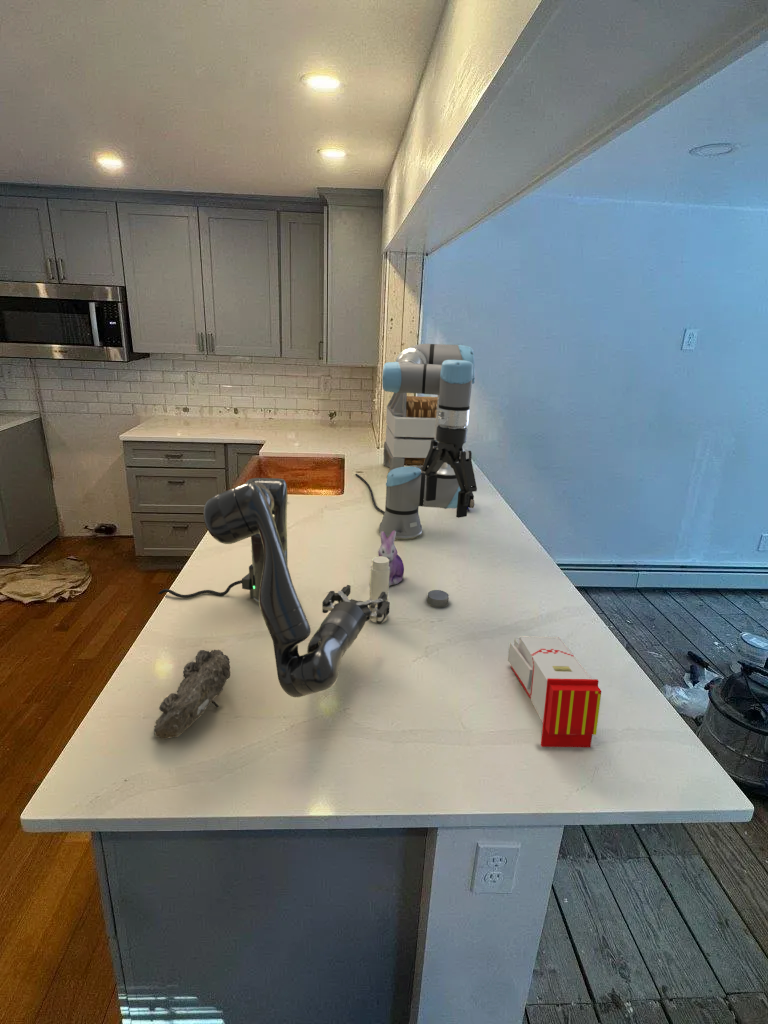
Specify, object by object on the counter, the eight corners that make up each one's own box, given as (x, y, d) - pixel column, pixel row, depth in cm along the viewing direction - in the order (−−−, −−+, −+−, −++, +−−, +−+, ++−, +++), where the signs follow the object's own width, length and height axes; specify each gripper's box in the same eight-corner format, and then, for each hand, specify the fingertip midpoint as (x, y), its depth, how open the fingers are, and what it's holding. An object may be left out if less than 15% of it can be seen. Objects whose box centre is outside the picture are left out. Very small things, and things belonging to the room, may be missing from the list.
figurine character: (474, 517, 223) (468, 500, 237) (476, 499, 220) (470, 484, 233) (457, 516, 223) (452, 500, 236) (459, 499, 220) (454, 483, 233)
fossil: (181, 651, 120) (231, 619, 115) (213, 681, 123) (262, 651, 118) (130, 732, 101) (187, 698, 96) (169, 765, 103) (226, 734, 99)
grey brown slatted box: (382, 463, 289) (386, 382, 275) (445, 464, 293) (451, 384, 279) (390, 482, 257) (394, 392, 243) (460, 483, 261) (468, 394, 247)
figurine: (383, 590, 159) (385, 540, 154) (367, 575, 168) (368, 528, 163) (412, 584, 163) (415, 536, 158) (395, 569, 172) (397, 523, 167)
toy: (555, 619, 129) (611, 687, 100) (550, 674, 132) (602, 754, 102) (502, 618, 128) (542, 685, 99) (498, 673, 131) (536, 754, 102)
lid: (427, 596, 157) (428, 588, 156) (448, 598, 156) (449, 591, 156) (425, 606, 152) (426, 598, 151) (447, 608, 151) (448, 600, 150)
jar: (389, 621, 144) (392, 562, 138) (371, 623, 142) (373, 564, 137) (384, 612, 148) (387, 554, 142) (366, 614, 147) (368, 556, 141)
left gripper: (374, 618, 114) (396, 582, 128) (309, 605, 117) (337, 572, 132) (373, 649, 116) (394, 611, 131) (309, 636, 120) (337, 600, 135)
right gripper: (411, 417, 146) (407, 495, 153) (471, 437, 126) (463, 526, 133) (435, 416, 150) (430, 492, 157) (497, 435, 130) (488, 522, 137)
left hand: (366, 591), depth 131 cm, fingers open, 8 cm apart
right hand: (445, 508), depth 145 cm, fingers open, 13 cm apart
